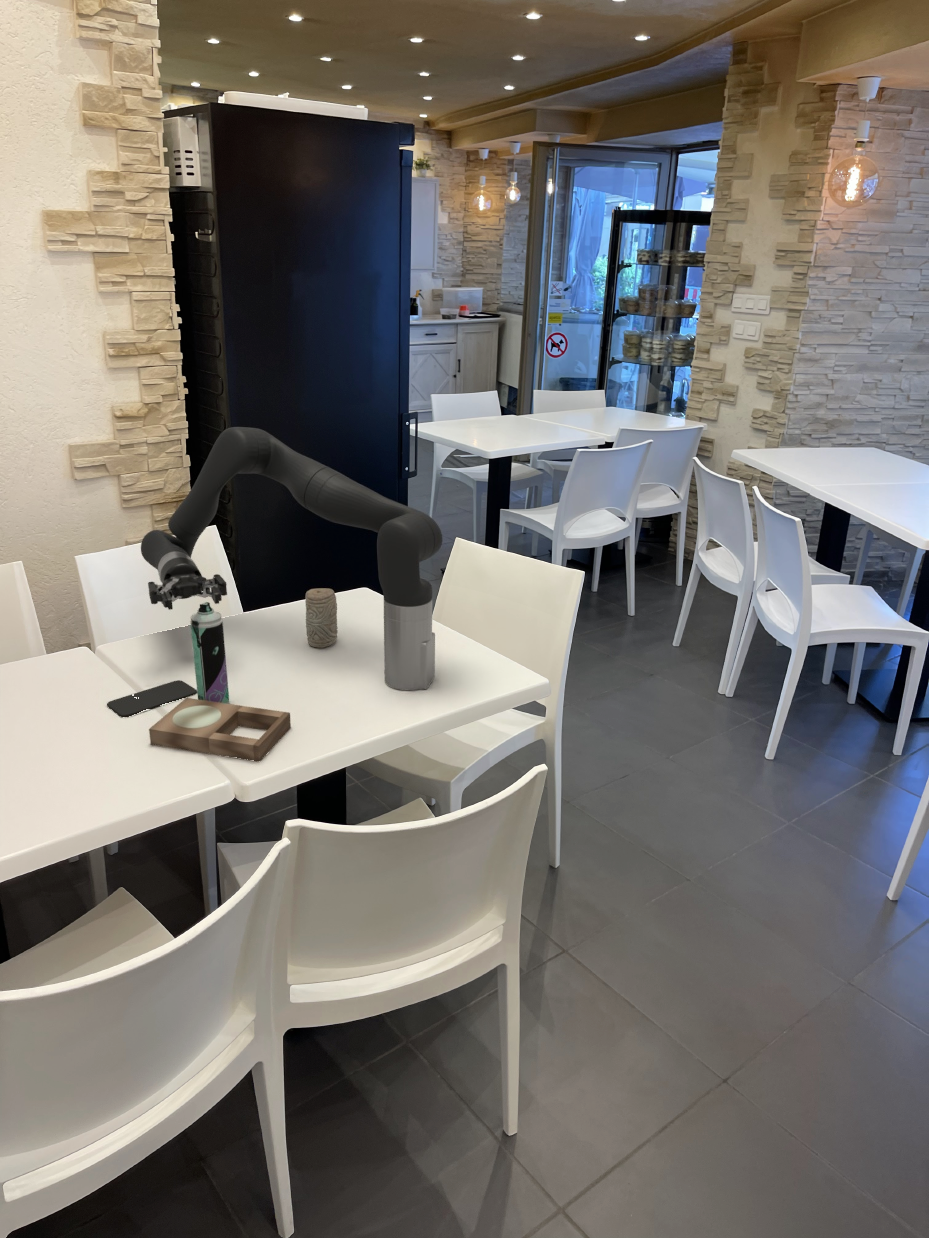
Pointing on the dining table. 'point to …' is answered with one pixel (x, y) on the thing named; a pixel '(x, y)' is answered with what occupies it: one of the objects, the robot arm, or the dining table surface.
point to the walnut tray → (219, 729)
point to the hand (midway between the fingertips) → (194, 601)
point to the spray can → (209, 655)
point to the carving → (321, 617)
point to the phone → (151, 698)
